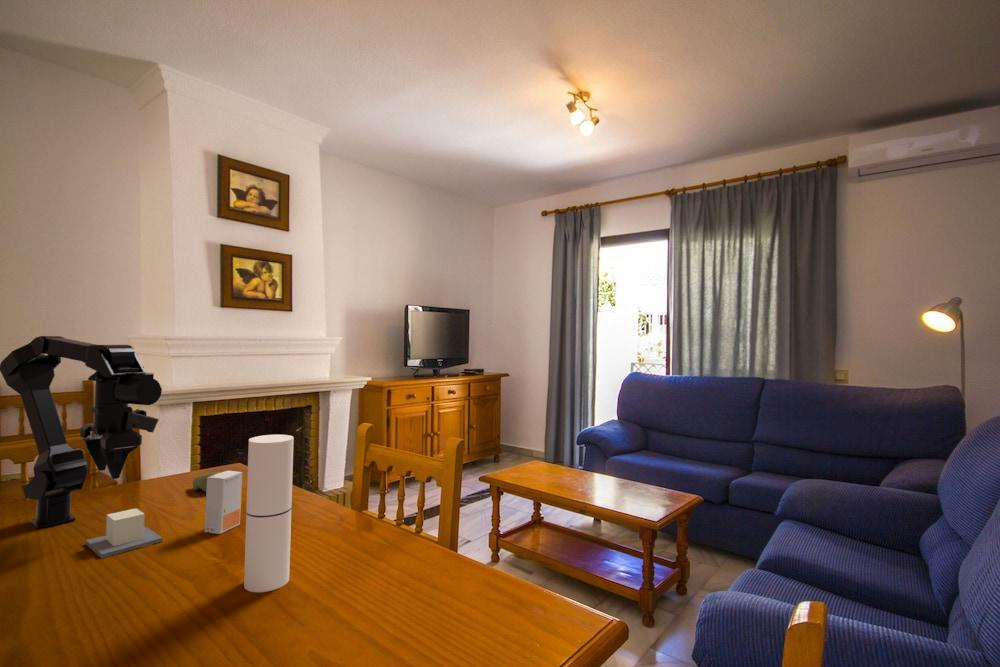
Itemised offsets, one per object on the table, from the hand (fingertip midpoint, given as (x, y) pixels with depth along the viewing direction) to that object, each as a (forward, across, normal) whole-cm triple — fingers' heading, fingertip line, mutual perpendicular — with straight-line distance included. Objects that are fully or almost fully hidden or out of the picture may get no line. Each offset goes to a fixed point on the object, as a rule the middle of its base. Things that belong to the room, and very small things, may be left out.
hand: (108, 474), depth 106 cm
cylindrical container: (+12, -48, -10) cm, 50 cm away
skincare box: (+12, -18, -16) cm, 27 cm away
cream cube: (+11, -11, 0) cm, 16 cm away
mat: (+12, -11, 0) cm, 16 cm away
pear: (+12, +12, -26) cm, 31 cm away
